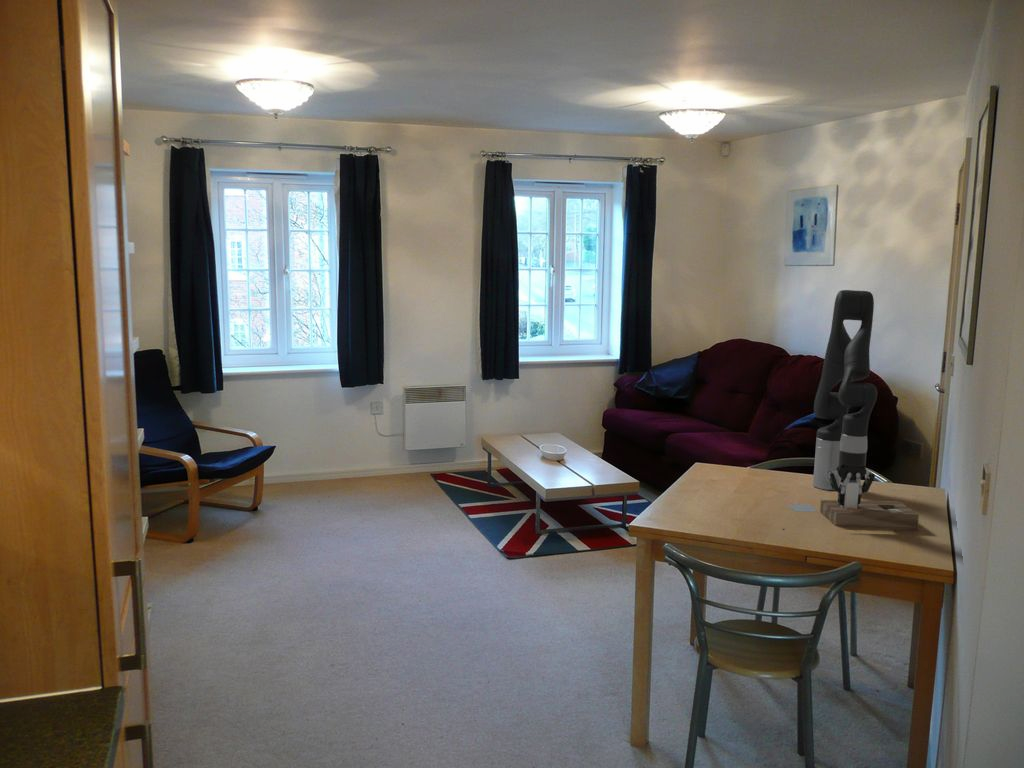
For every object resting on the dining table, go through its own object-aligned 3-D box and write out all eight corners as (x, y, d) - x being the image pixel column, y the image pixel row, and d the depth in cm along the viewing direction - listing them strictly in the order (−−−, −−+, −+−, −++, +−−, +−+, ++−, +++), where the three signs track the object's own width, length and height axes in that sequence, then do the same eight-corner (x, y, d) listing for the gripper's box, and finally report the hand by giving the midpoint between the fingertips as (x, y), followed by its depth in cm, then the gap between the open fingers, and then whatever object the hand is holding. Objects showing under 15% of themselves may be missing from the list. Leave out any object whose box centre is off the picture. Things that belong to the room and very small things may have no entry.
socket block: (819, 515, 262) (821, 498, 261) (898, 517, 262) (899, 500, 261) (834, 529, 249) (836, 511, 248) (917, 530, 249) (918, 513, 248)
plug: (840, 508, 257) (842, 477, 255) (852, 508, 257) (854, 478, 255) (844, 512, 253) (847, 481, 252) (856, 512, 253) (859, 481, 252)
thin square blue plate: (788, 507, 270) (788, 504, 269) (810, 508, 270) (810, 505, 269) (794, 514, 263) (795, 511, 263) (817, 514, 263) (817, 511, 262)
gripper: (872, 446, 256) (867, 502, 258) (824, 445, 256) (820, 501, 259) (882, 452, 248) (877, 509, 251) (833, 451, 249) (829, 508, 251)
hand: (848, 504), depth 255 cm, fingers closed on plug, 3 cm apart
